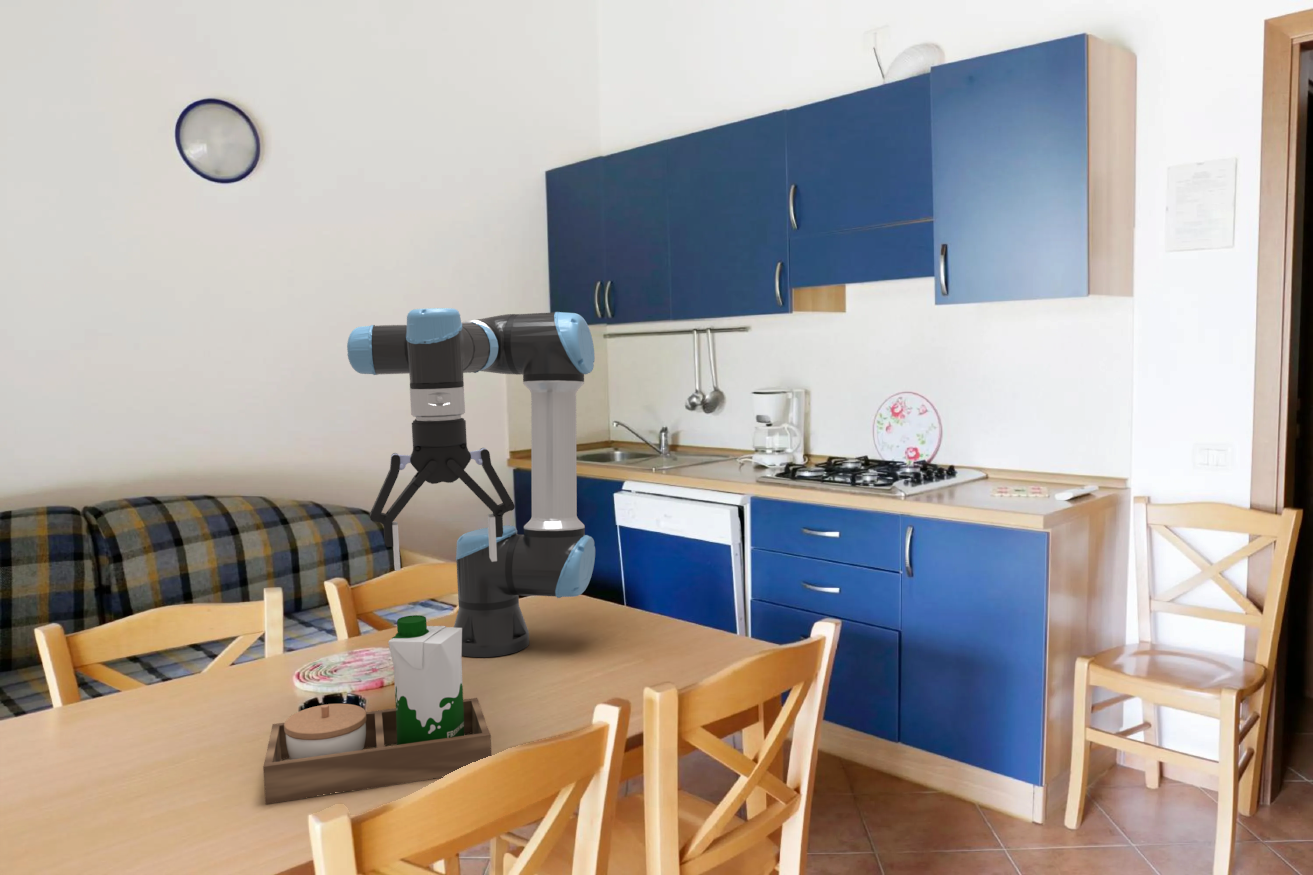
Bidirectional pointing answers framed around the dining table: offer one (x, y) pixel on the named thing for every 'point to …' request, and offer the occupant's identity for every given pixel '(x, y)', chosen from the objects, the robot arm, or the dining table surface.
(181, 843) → the dining table surface
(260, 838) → the dining table surface
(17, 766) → the dining table surface
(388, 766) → the organizer
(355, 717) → the lidded jar
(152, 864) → the dining table surface
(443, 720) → the soya milk
